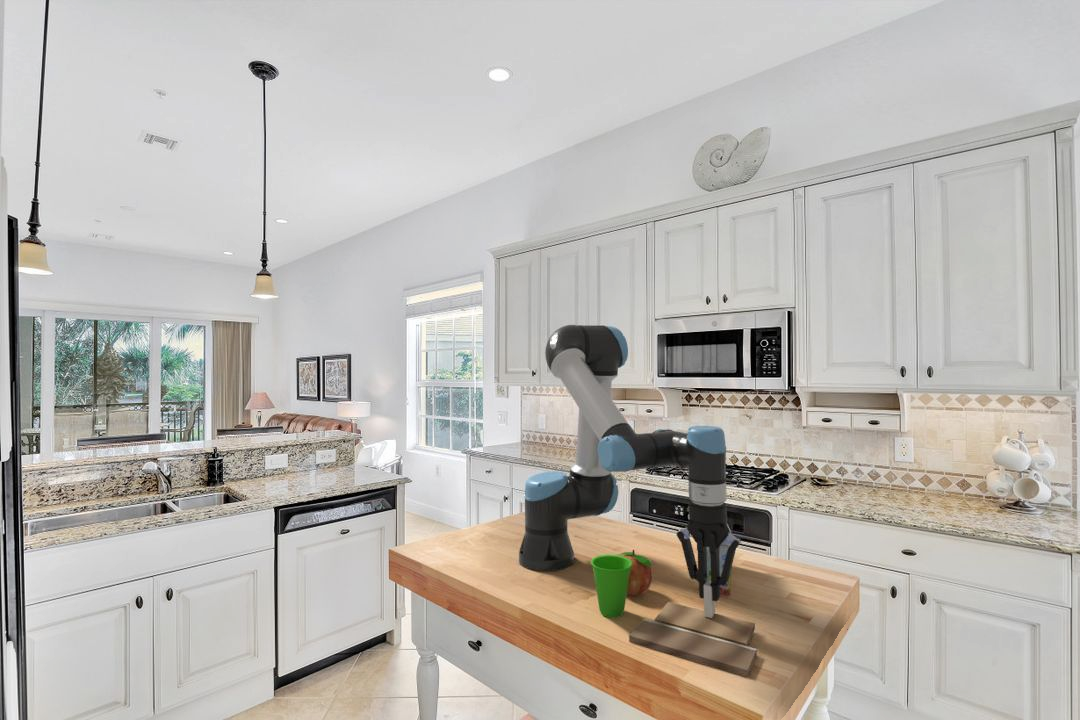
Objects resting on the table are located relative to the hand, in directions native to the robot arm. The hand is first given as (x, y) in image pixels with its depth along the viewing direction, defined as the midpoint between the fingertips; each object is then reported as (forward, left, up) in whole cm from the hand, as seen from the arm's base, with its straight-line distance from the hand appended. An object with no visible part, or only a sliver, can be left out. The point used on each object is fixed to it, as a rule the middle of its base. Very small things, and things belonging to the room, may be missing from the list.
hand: (709, 614), depth 111 cm
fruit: (-19, +6, -2) cm, 20 cm away
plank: (0, -3, -2) cm, 3 cm away
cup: (-19, -6, -2) cm, 20 cm away
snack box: (-5, +25, -2) cm, 25 cm away
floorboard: (0, -11, -2) cm, 12 cm away
